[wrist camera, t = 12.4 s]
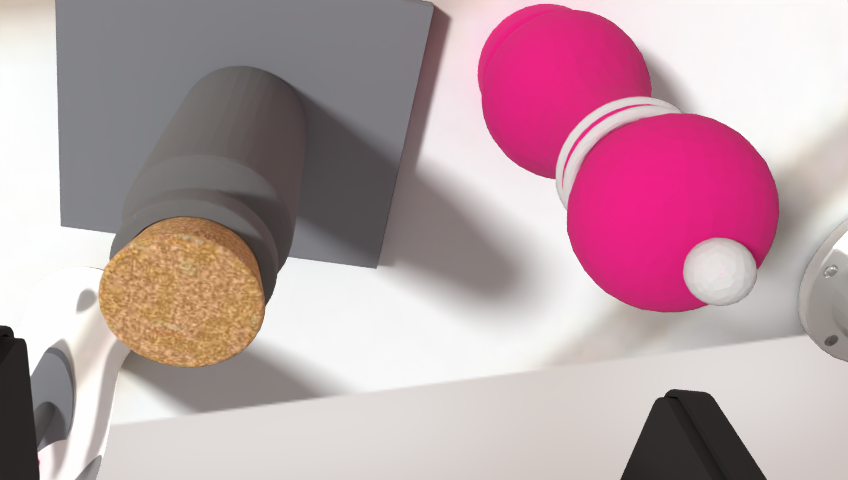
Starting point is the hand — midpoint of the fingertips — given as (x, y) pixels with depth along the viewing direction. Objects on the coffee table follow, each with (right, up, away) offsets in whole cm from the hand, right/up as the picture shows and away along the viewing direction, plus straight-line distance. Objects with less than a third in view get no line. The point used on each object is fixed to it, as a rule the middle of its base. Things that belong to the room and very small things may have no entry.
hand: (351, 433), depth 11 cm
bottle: (-7, +8, +23) cm, 26 cm away
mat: (-8, +9, +24) cm, 27 cm away
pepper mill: (+7, +12, +24) cm, 28 cm away
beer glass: (-17, -1, +29) cm, 34 cm away
